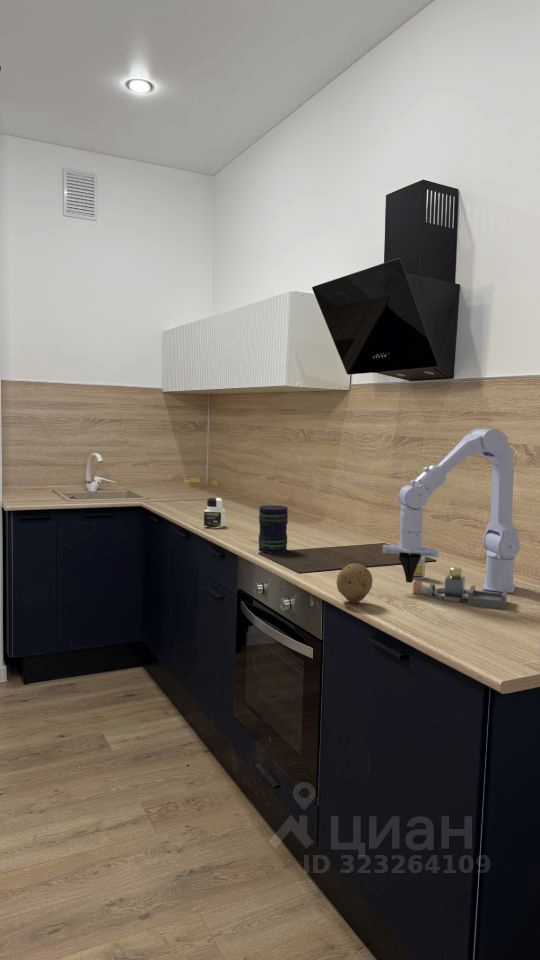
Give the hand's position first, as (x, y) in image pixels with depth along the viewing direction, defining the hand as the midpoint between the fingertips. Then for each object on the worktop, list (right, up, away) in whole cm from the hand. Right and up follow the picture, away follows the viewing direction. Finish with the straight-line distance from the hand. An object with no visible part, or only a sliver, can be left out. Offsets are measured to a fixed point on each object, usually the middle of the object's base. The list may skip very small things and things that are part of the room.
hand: (409, 581), depth 183 cm
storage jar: (-36, +3, +53) cm, 64 cm away
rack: (+18, -4, -10) cm, 21 cm away
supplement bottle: (+5, -2, +16) cm, 17 cm away
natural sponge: (-16, -4, -13) cm, 21 cm away
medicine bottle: (-60, +7, +100) cm, 117 cm away
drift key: (+3, -3, -1) cm, 4 cm away
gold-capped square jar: (+11, -3, -4) cm, 12 cm away
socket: (+11, -3, -4) cm, 12 cm away
